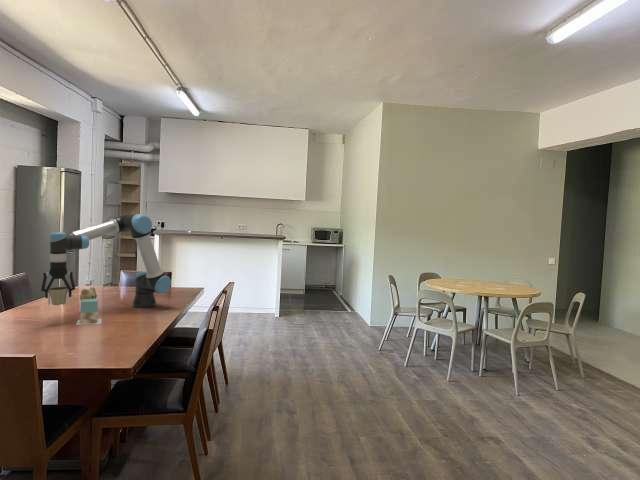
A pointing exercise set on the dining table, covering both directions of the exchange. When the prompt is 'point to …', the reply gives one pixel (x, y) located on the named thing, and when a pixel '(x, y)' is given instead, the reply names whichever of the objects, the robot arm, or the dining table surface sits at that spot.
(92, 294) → the toy
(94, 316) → the beech block
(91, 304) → the teal block
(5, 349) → the dining table surface
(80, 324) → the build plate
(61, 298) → the flower pot
